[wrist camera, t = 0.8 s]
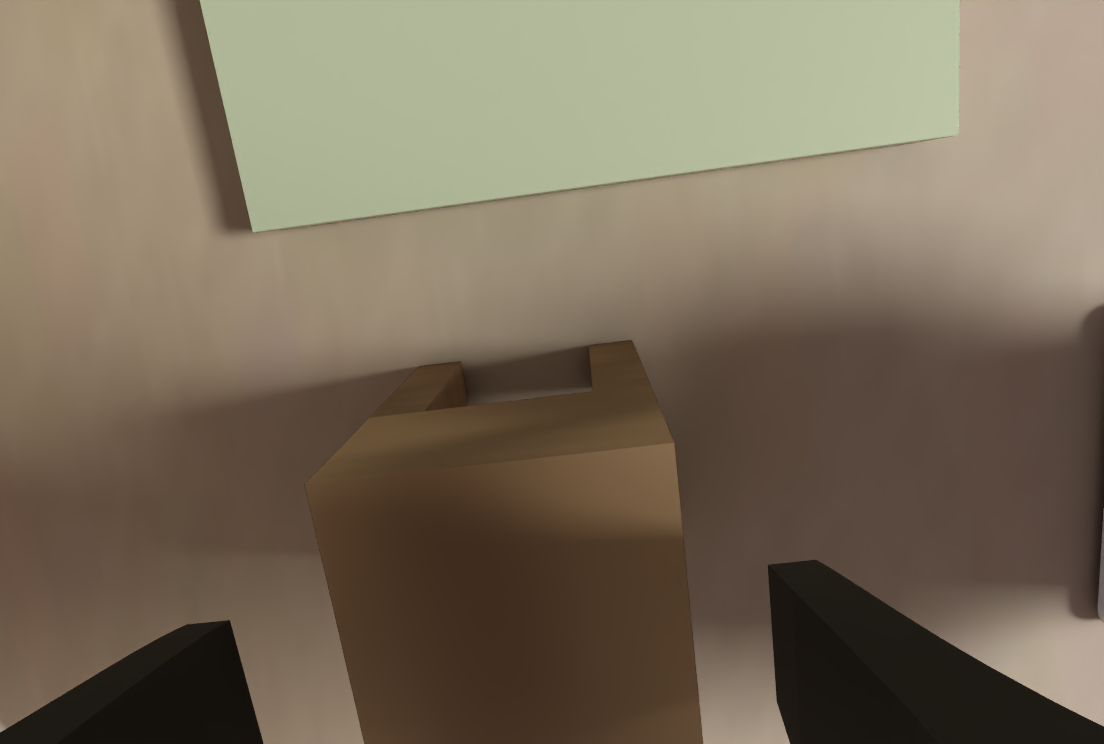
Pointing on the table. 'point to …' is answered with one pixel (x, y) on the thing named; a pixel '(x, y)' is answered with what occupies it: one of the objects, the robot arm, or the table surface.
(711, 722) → the table surface
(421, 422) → the walnut stool
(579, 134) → the sage green board
